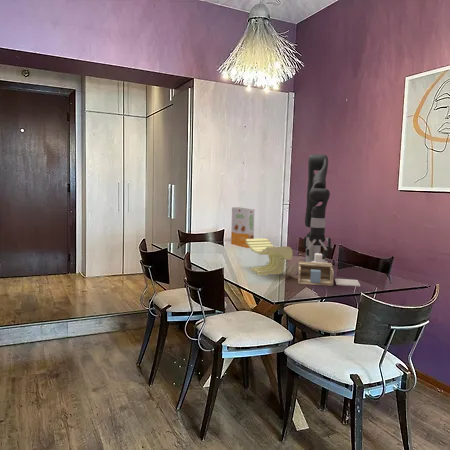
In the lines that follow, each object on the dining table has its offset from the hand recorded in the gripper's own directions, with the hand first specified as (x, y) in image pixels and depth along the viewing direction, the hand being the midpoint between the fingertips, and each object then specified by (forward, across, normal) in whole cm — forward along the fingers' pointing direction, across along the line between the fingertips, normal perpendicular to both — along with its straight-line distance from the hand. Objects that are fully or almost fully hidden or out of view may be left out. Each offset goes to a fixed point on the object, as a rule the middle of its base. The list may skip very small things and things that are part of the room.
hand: (316, 256), depth 224 cm
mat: (+14, -17, -4) cm, 23 cm away
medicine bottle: (+14, -3, -24) cm, 28 cm away
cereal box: (+14, +54, -107) cm, 121 cm away
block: (+14, 0, 0) cm, 14 cm away
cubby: (+14, 0, -5) cm, 15 cm away
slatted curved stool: (+14, +27, -18) cm, 36 cm away
